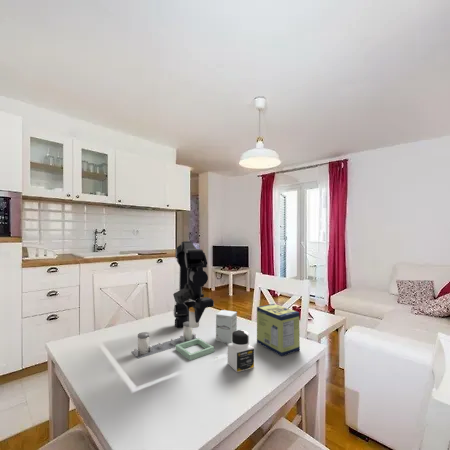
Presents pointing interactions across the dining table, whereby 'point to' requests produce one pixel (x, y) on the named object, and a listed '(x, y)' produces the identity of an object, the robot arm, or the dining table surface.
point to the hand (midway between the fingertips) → (194, 320)
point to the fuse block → (147, 349)
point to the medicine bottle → (240, 351)
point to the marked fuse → (192, 318)
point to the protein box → (278, 329)
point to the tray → (194, 355)
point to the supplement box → (225, 326)
